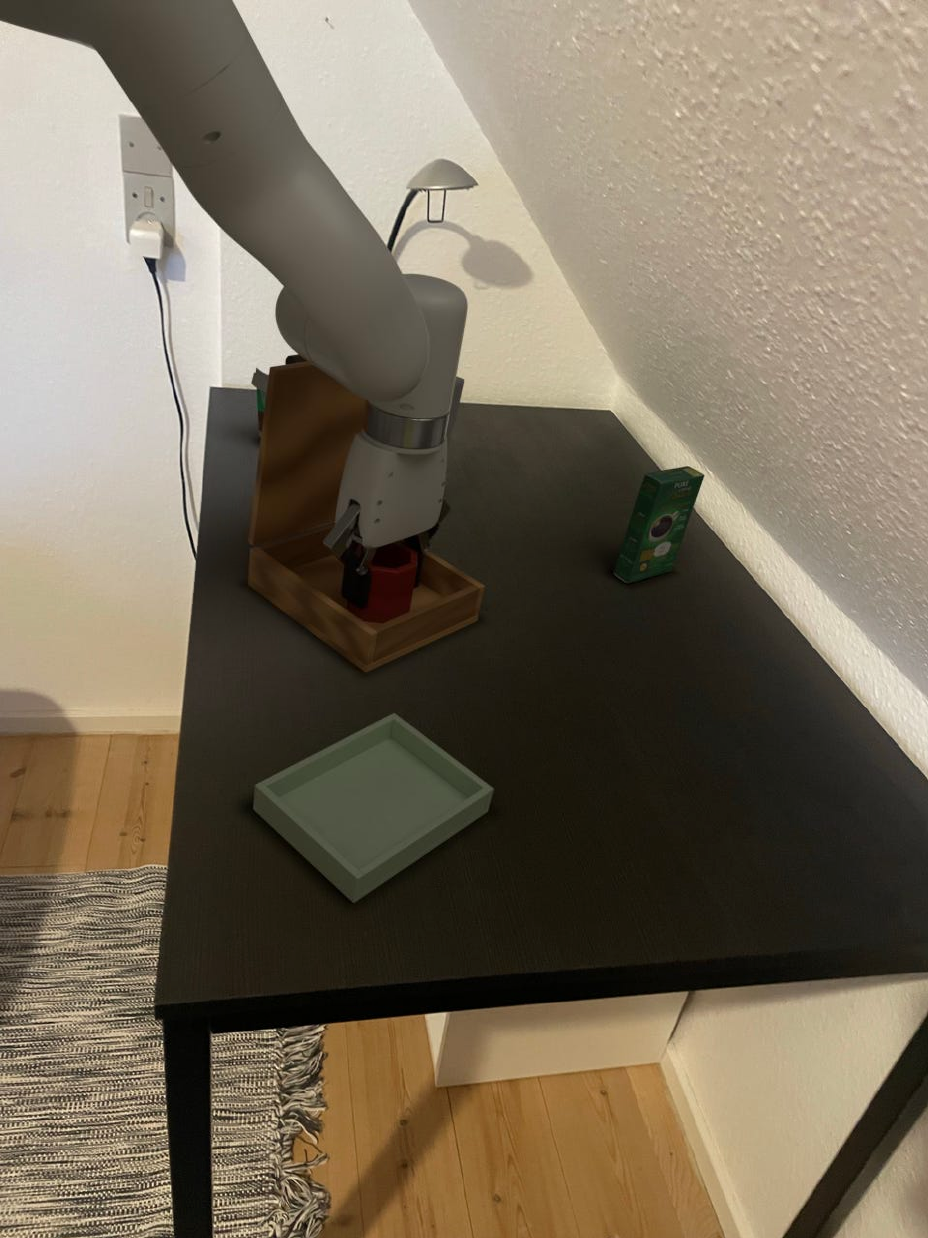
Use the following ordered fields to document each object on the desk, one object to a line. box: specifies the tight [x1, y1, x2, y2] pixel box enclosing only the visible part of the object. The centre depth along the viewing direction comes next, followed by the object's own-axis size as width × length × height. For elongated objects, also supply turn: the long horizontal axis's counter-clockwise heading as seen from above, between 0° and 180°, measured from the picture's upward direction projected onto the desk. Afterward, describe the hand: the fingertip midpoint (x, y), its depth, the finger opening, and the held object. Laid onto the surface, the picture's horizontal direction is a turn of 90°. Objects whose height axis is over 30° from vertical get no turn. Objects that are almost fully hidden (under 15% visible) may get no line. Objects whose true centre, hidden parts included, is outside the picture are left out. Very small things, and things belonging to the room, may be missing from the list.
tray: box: [252, 712, 495, 904], centre depth 71 cm, size 14×11×2 cm
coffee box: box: [612, 465, 705, 584], centre depth 109 cm, size 8×3×13 cm, turn 127°
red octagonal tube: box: [347, 541, 417, 623], centre depth 93 cm, size 6×6×6 cm
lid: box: [247, 353, 365, 547], centre depth 93 cm, size 18×16×5 cm
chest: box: [247, 521, 486, 674], centre depth 95 cm, size 18×16×4 cm
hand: (380, 590), depth 94 cm, fingers closed on red octagonal tube, 6 cm apart
